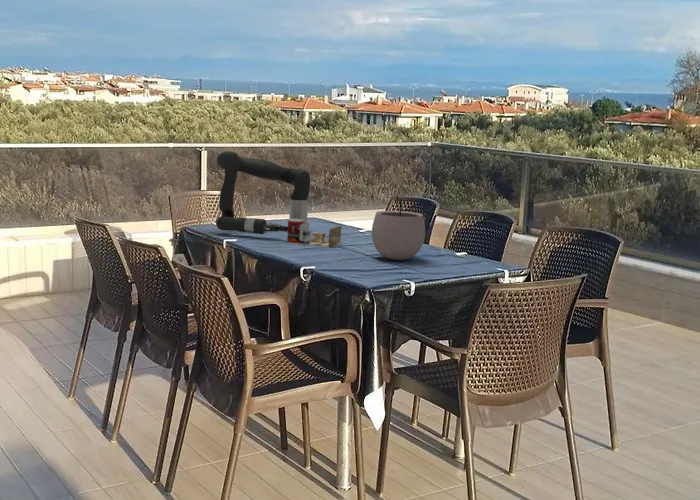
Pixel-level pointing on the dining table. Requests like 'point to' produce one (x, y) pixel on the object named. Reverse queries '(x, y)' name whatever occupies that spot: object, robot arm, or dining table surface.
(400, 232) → the plant pot
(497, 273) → the dining table surface
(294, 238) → the canned food
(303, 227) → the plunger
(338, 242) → the wooden stand
